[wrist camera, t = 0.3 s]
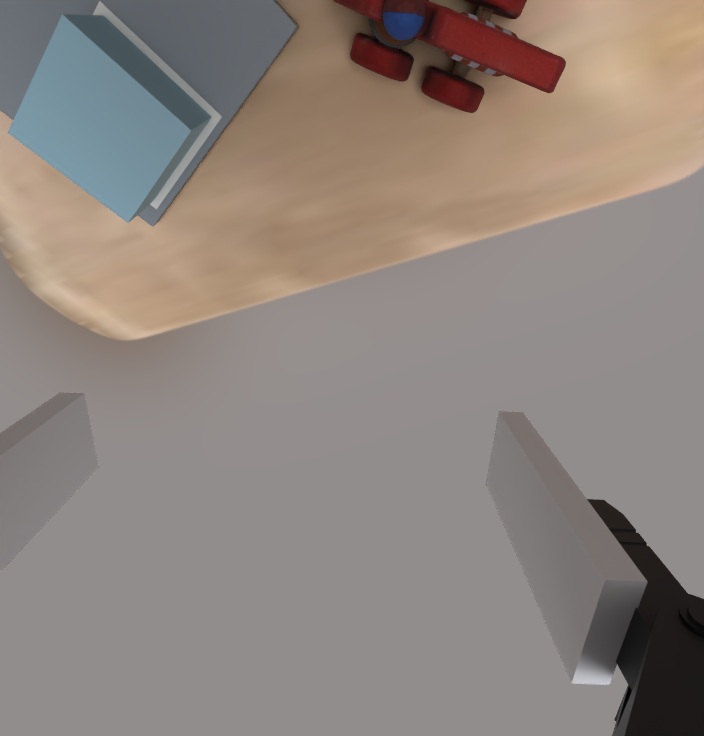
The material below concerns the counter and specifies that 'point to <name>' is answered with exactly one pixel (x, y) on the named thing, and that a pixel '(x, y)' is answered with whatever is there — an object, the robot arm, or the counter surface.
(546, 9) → the counter surface
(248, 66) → the slate board
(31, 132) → the teal block
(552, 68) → the toy fire truck
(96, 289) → the counter surface
